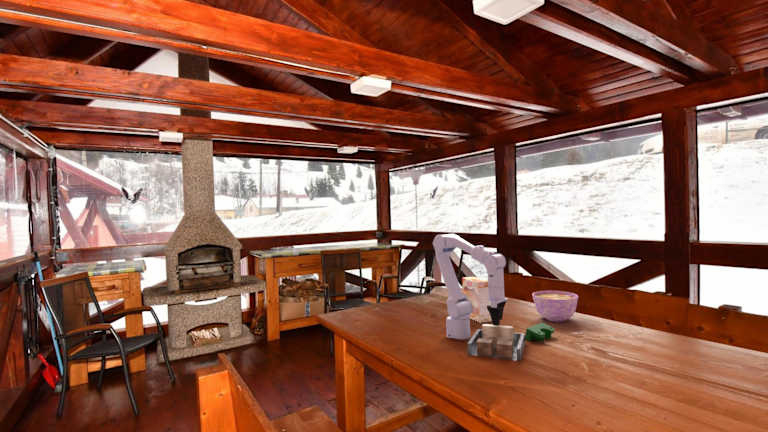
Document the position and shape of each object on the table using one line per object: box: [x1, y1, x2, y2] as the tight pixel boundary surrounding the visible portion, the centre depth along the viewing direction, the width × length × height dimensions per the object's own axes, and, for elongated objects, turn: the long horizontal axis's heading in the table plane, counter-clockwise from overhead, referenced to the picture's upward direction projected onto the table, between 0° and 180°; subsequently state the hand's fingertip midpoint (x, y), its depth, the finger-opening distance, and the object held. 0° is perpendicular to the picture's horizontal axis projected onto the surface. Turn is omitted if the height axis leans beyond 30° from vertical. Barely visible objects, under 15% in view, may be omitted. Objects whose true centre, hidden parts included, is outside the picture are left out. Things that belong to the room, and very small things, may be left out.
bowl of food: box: [531, 290, 579, 323], centre depth 177 cm, size 20×20×12 cm
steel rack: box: [467, 328, 526, 362], centre depth 139 cm, size 18×18×5 cm
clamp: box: [525, 322, 555, 343], centre depth 148 cm, size 12×6×9 cm, turn 121°
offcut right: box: [497, 340, 513, 358], centre depth 132 cm, size 5×4×4 cm
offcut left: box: [477, 338, 493, 356], centre depth 135 cm, size 5×4×4 cm
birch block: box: [481, 323, 514, 349], centre depth 141 cm, size 11×2×8 cm, turn 64°
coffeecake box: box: [461, 276, 492, 324], centre depth 184 cm, size 15×7×20 cm, turn 17°
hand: (497, 322), depth 141 cm, fingers open, 7 cm apart
